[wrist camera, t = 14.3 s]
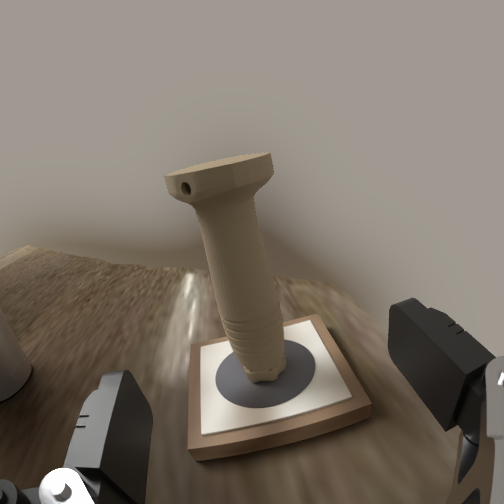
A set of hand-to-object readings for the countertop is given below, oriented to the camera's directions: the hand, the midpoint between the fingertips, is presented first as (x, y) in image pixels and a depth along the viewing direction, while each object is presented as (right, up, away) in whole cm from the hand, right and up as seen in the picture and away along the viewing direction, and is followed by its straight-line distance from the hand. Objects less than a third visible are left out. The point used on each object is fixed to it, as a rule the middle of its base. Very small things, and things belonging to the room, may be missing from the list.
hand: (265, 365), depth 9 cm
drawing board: (+1, -7, +14) cm, 16 cm away
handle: (+1, -6, +14) cm, 15 cm away
